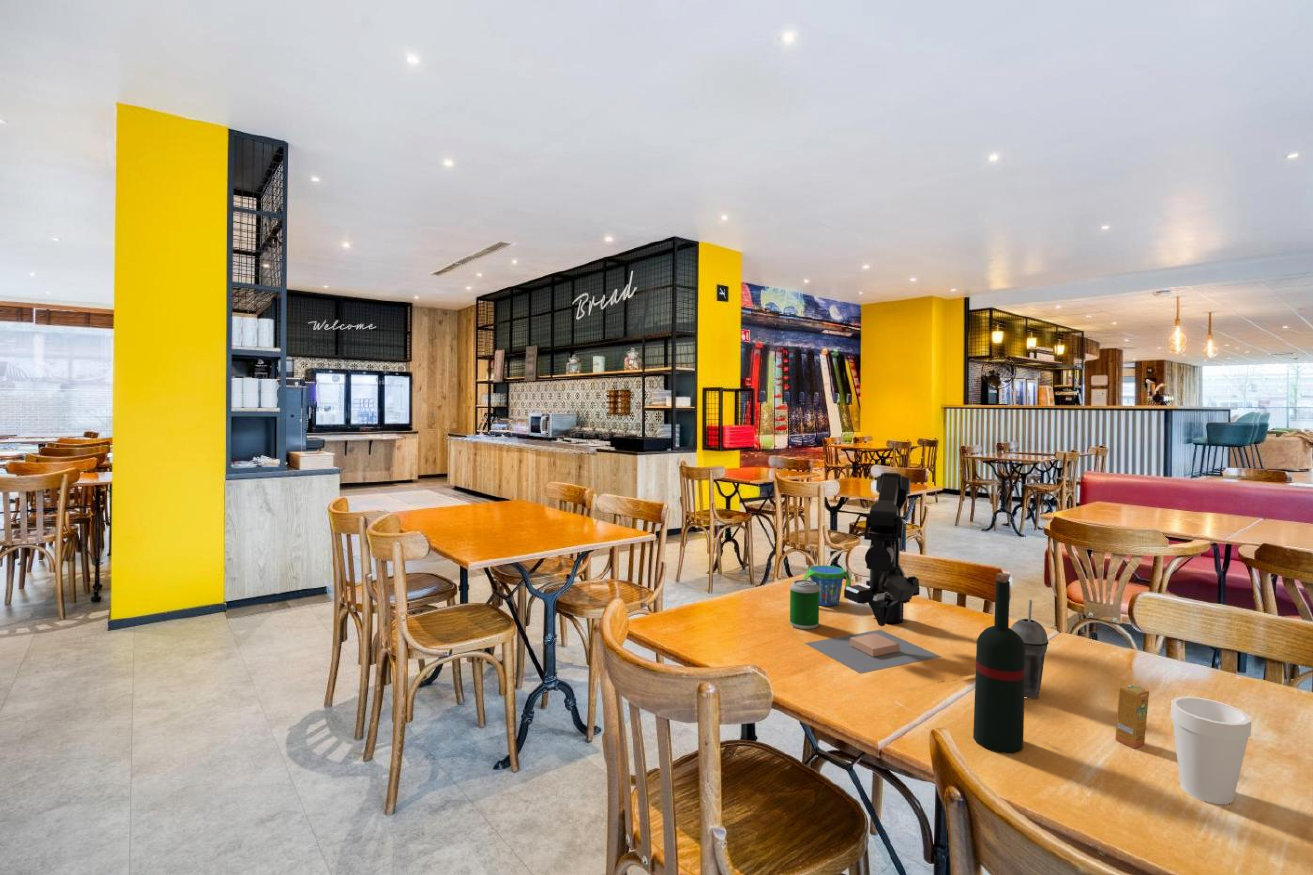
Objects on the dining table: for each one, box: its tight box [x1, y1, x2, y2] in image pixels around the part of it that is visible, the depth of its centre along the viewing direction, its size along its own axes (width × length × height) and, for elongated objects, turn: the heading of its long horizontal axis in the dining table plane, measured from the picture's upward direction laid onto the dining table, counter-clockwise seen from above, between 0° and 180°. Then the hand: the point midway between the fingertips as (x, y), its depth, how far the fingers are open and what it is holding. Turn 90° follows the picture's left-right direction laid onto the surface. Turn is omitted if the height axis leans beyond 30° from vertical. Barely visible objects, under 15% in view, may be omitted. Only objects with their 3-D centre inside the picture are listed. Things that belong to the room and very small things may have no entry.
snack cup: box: [802, 564, 852, 607], centre depth 199 cm, size 16×10×10 cm
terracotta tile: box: [850, 633, 900, 657], centre depth 161 cm, size 2×8×8 cm
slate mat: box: [804, 629, 942, 674], centre depth 161 cm, size 24×20×1 cm
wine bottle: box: [972, 572, 1026, 755], centre depth 118 cm, size 8×10×30 cm
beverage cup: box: [1009, 599, 1050, 699], centre depth 137 cm, size 7×7×20 cm
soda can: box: [789, 579, 820, 630], centre depth 178 cm, size 8×8×12 cm
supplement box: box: [1115, 683, 1150, 749], centre depth 118 cm, size 3×3×10 cm
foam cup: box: [1170, 696, 1252, 805], centre depth 103 cm, size 10×9×13 cm
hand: (881, 625), depth 162 cm, fingers closed
